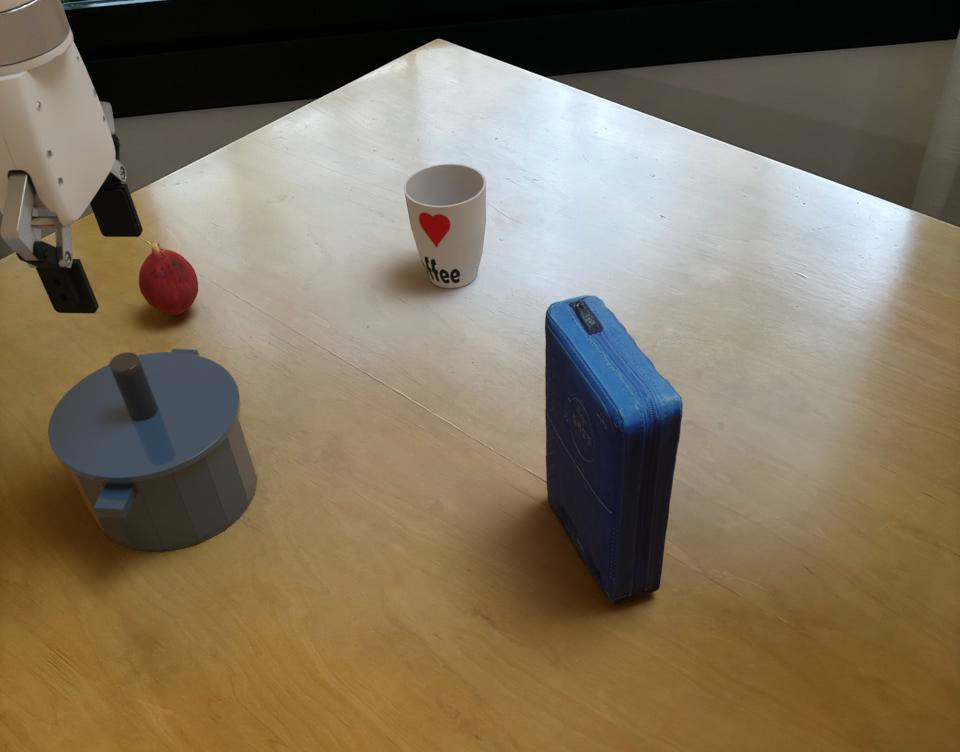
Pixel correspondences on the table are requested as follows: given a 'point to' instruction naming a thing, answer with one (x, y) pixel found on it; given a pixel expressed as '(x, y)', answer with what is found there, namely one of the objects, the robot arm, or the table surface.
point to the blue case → (608, 446)
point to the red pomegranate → (168, 281)
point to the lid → (144, 416)
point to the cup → (448, 221)
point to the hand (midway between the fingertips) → (101, 271)
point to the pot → (177, 498)
